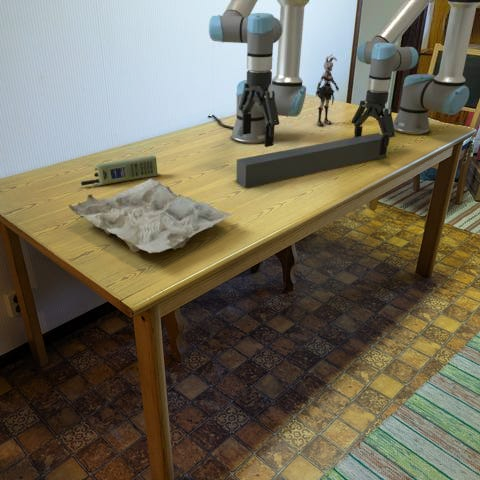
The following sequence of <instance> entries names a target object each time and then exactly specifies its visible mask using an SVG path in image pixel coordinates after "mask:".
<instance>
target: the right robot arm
mask: <svg viewBox="0 0 480 480" xmlns="http://www.w3.org/2000/svg"><path fill="white" fill-rule="evenodd" d="M435 1H436V0H403V2H402V3H401V4H400V5H399V7H398V8H397V9H396V10H395V11H394V13H393V14H392V15H391V16H390V17H389V19H388V20H387V21H386V22H385V23H384V25H382V27H381V28H380V29H379V31H378V32H377V33H376V34H375V35H374V37H373V38H372V39H371V40H370V41H363V42H361V43H360V44H358V47H357V50H356V57H357V60H358V61H359V62H361V63H363V64H366V65H370V67H369V74H368V79H367V86H366V87H367V88H366V89H367V90H366V95H365V100H360V101H359V105H358V108H357V110H356V112H355V113H354V116H353V117H352V119H351V124H353V125H354V130H353V133H354V137H359V136H363V128H364V126H363V124H364V123H365V122H366V121H367V120H368V119H369V118H370V117H371V118H373V119H375V120H376V121H377V123H378V126H379V128H380V131H381V135H383V137H381V143H380V149H379V155H385V154H386V155H387V153H386V150H387V151H388V147H389V143H390V140H391V139H390V138H394V137H396V133H395V132H397V133H399V134H400V133H401V134H403V135H410V136H411V135H412V136H421V135H426V134H428V133H429V131H430V119H429V111H432V112H437V113H440V114H442V115H448V116H454V115H457V114H458V113H459V112H461V111H462V110H463V108H464V107H465V106H466V104H467V103H468V100H469V97H470V90H469V87H468V86H466V78H465V76H463V73H464V68H465V64H466V59H467V54H468V49H469V44H470V40H471V35H472V29H473V25H474V21H475V15H476V11H477V8H478V7H479V6H480V0H447V3H448V5H449V6H450V10H449V16H448V22H447V28H446V32H445V37H444V43H443V49H442V54H441V60H440V65H439V71H438V73H437V75H435V74H429V73H419V74H417V73H416V74H409V75H407V76H406V77H405V78H404V82H403V85H402V92H401V93H402V94H401V98H400V104H399V111H398V112H397V115H396V117H395V118H394V120H393V108H392V107H386V104H387V103H388V101H389V94H390V93H389V91H390V88H391V81H392V75H393V72H398V71H399V72H400V71H407V70H411V69H413V68H414V67H416V66H417V64H418V61H419V52H418V51H417V49H416V48H415V47H413V46H404V47H403V46H397V45H396V43H397V42H398V41H399V40H400V39H401V37H402V36H403V35H404V33H406V31H407V30H408V29H409V27H410V26H411V25H412V24H414V21H416V19H417V18H418V17H419V16H420V15H421V14H422V12H423V11H424V10H425V8H426V7H427V6H428V5H429V4H431V3H433V2H435ZM387 146H388V147H387Z"/></svg>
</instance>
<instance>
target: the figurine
mask: <svg viewBox="0 0 480 480" xmlns="http://www.w3.org/2000/svg"><path fill="white" fill-rule="evenodd" d="M333 60H334V61H335V62H337V61H338V60H337V58H336V56H333V53H332V54H330V55H328V56H326V57H325V62H324V63H323V69H324V70H325V71H324V72H323V73H322V75H321V77H320V80H319V82H318V83H317V87H316V92H315V97H317V98H319V99H320V104H319V106H318V107H317V109H318V119H317V121H316V122H317V125H318V126H319V127H324V124H325V123H326V124H327V125H331V124H332V120H331V121H330V120H329V119H328V113H329V108H330V105H329V104H330V101H331V106H333V104H334V102H335V95H334V93H335V92H337V93H338V92H340V88H339V86H338V85H337V83H336V81H335V80H334V77H333V74H332V71H333V67H334V63H333ZM323 81H324V83H323V85H322V82H323ZM331 83H332V84H333V85H334V87H335V90H334V89H333V85H331ZM321 85H322V86H321ZM323 111H324V121H323V122H322V112H323Z"/></svg>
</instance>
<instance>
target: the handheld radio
mask: <svg viewBox="0 0 480 480" xmlns="http://www.w3.org/2000/svg"><path fill="white" fill-rule="evenodd" d="M157 164H158V163H157V156H156V155H147V156H141V157H140V156H139V157H134V158H127V159H121V160H115V161H108V162H101V163H96V164H93V167H94V168H93V171H97V172H95V173H94V174H93V175H94V177H96V179H90V180H83V181H82V180H81V181H80V185H81V186H88V185H93V184H94V185H96V186H97V187H98V186H99V187H100V186H105V185H109V184H115V183H121V182H128V181H134V180H139V179H144V178H151V177H156V176H158V175H159V174H158V165H157Z"/></svg>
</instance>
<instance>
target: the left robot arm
mask: <svg viewBox="0 0 480 480" xmlns="http://www.w3.org/2000/svg"><path fill="white" fill-rule="evenodd" d="M276 1H277V3H278V4H279V5H280V11H279V18H277V17H275V15H273V14H272V13H268V12H254V13H252V11H253V10H254V8H255V7H256V5H257V2H259V0H230V1H229V3H228V5H227V7H226V9H225V10H224V12H223V13H222V15H220V14H218V15H212V16H211V17H210V18H209V22H208V35H209V38H210V39H211V41H213V42H218V43H233V44H234V43H235V44H246V45H247V46H246V47H247V49H246V70H247V71H246V79H243V80H241V81H239V82H238V83H237V85H236V93H235V96H236V119H235V123H234V125H233V126H231V125H228V124H224V123H222V122H221V120H220V119H219V118H217V116H216V115H214V114H213V115H212V116H209V115H208V116H207V118H211V117H212V118H213V119H214V120H215V121H216V122H217V123H218V125H219V126H220V127H223V128H226V129H231V130H232V133H231V140H233V141H234V142H236V143H240V144H246V145H247V144H248V145H257V144H262V143H264V147H265V148H268V147H274V140H275V139H274V136H275V127H276V126H280V119H279V116H280V117H286V118H289V117H291V118H293V117H295V118H296V117H298V116H299V115H300V114H301V113H302V110H303V108H304V104H305V100H306V95H307V87H306V86H305V85H303V79H302V78H301V77H300V70H301V69H300V67H301V56H302V44H303V43H302V42H303V31H304V16H305V7H306V6H307V5H308V4H309V3H310V0H276ZM275 43H278V45H277V58H276V73H275V74H276V75H275V76H274V77H273V72H272V71H271V70H273V55H274V54H273V53H274V44H275Z"/></svg>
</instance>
